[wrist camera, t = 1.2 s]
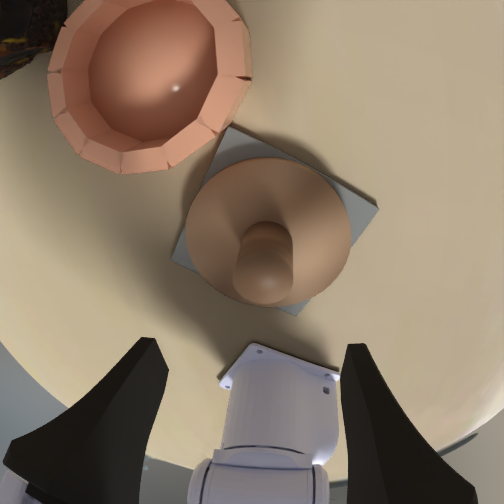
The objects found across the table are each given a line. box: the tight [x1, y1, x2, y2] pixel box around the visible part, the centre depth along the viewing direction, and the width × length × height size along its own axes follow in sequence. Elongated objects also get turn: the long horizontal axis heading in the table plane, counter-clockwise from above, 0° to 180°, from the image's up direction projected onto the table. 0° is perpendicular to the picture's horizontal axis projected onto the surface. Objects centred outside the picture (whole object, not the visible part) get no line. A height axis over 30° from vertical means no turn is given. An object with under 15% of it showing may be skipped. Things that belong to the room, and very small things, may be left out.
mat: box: [171, 126, 379, 316], centre depth 19 cm, size 10×10×1 cm
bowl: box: [47, 0, 253, 175], centre depth 13 cm, size 11×11×3 cm
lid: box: [185, 157, 351, 307], centre depth 17 cm, size 10×10×5 cm
